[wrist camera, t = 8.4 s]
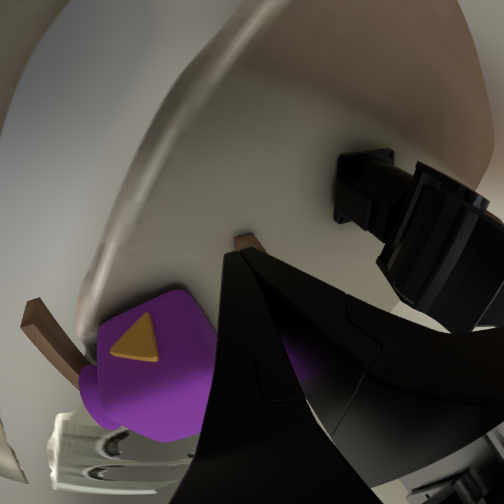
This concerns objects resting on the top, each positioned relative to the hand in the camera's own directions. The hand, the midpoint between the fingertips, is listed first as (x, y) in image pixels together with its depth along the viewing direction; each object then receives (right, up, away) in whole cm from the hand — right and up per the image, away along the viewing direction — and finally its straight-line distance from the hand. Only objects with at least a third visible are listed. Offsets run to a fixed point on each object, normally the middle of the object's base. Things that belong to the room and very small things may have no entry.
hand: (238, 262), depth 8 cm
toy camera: (-10, -8, +17) cm, 21 cm away
